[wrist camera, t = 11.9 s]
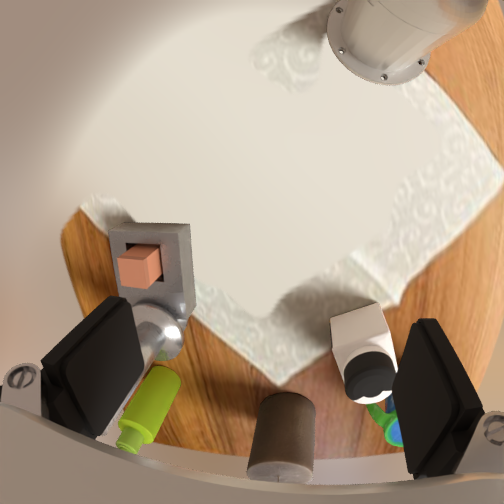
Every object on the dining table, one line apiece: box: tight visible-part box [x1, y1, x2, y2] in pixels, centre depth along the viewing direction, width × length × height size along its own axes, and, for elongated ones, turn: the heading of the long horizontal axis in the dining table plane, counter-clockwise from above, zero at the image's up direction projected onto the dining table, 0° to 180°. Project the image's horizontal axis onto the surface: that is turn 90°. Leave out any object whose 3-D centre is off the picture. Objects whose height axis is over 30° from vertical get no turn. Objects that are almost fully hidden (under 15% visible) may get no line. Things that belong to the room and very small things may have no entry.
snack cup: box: [366, 372, 403, 447], centre depth 38 cm, size 16×11×10 cm
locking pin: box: [117, 243, 163, 289], centre depth 38 cm, size 4×4×8 cm
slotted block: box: [102, 222, 196, 436], centre depth 33 cm, size 18×10×22 cm, turn 0°
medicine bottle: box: [329, 303, 398, 404], centre depth 35 cm, size 7×7×12 cm
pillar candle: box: [247, 393, 316, 484], centre depth 41 cm, size 10×10×15 cm
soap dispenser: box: [116, 366, 181, 454], centre depth 41 cm, size 6×7×20 cm
